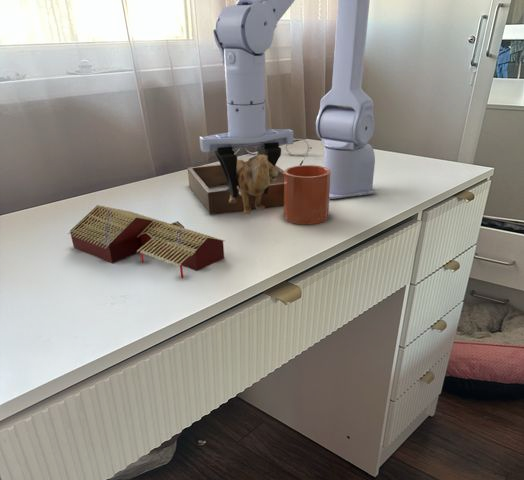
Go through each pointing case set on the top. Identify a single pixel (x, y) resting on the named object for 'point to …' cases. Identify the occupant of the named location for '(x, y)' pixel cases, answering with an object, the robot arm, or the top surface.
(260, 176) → the lion figurine
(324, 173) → the cup
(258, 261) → the top surface
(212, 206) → the wooden frame
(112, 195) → the top surface
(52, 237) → the top surface
